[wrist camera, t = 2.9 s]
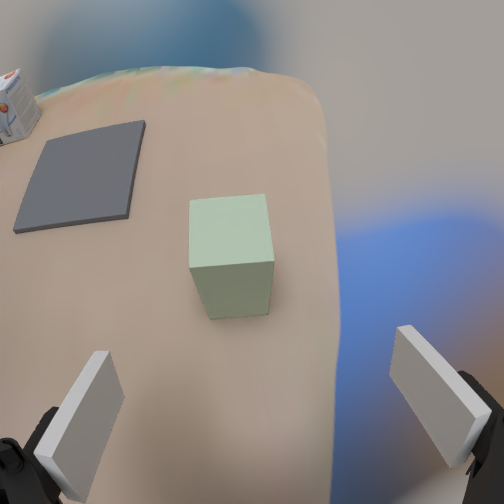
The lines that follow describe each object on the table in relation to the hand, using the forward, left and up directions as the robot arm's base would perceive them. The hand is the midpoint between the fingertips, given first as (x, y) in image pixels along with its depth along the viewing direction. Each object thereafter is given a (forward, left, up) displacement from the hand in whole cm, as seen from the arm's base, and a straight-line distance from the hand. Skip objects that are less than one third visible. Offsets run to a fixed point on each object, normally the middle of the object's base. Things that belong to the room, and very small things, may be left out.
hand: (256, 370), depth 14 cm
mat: (-20, +26, -12) cm, 35 cm away
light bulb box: (-39, +41, -13) cm, 58 cm away
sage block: (-1, +9, -13) cm, 15 cm away
